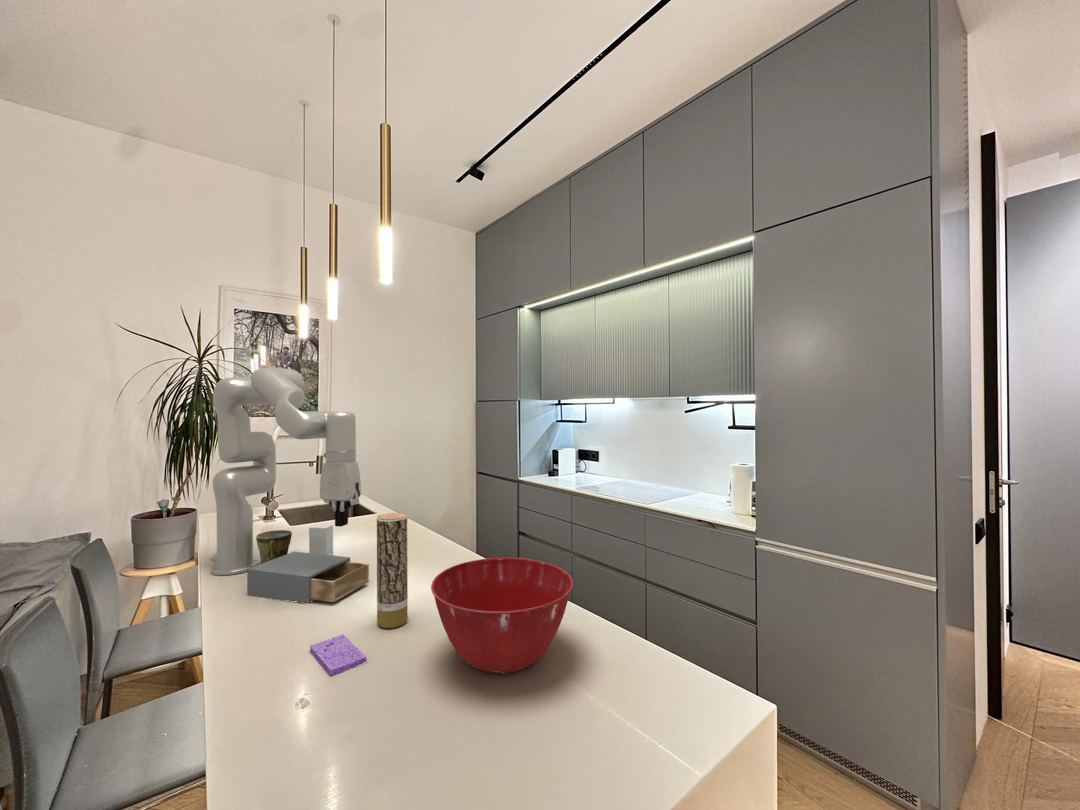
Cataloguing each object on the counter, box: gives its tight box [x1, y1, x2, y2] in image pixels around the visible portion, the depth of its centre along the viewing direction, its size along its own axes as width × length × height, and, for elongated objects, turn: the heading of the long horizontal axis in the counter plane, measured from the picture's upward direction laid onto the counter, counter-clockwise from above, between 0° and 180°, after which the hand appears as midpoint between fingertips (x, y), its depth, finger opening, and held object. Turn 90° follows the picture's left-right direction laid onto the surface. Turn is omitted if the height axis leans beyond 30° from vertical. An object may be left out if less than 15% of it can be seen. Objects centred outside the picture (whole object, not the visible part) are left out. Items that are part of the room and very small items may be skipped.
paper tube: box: [376, 512, 409, 629], centre depth 109 cm, size 7×7×25 cm
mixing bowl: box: [430, 557, 574, 675], centre depth 95 cm, size 28×28×16 cm
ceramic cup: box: [255, 529, 293, 564], centre depth 148 cm, size 13×10×10 cm
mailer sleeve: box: [246, 551, 351, 604], centre depth 130 cm, size 20×16×7 cm
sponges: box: [309, 633, 368, 677], centre depth 95 cm, size 7×13×2 cm, turn 43°
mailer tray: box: [310, 561, 370, 603], centre depth 128 cm, size 19×14×5 cm
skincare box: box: [308, 524, 334, 556], centre depth 151 cm, size 6×4×12 cm
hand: (341, 525), depth 126 cm, fingers closed
